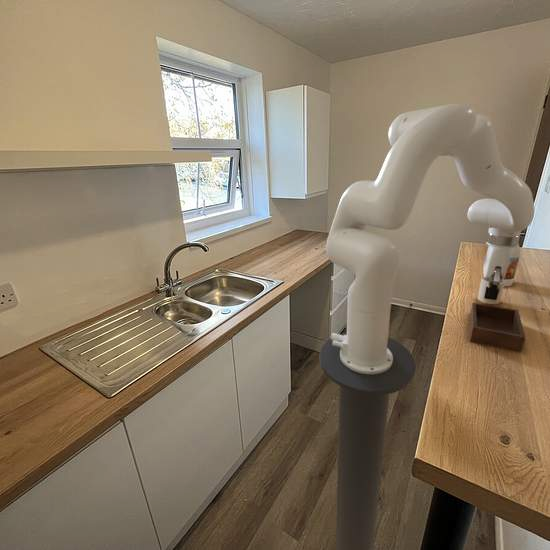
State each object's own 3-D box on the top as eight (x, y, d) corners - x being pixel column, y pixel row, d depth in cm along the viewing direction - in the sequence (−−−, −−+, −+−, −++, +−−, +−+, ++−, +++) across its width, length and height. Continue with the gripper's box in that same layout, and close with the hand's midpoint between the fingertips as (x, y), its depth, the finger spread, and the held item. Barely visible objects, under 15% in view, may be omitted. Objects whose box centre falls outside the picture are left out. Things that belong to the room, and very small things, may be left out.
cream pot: (477, 302, 95) (481, 281, 92) (477, 294, 99) (481, 274, 97) (500, 305, 92) (506, 284, 89) (499, 297, 96) (504, 277, 94)
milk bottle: (485, 284, 107) (497, 230, 99) (486, 276, 113) (498, 224, 105) (512, 288, 103) (527, 232, 95) (512, 280, 109) (526, 226, 101)
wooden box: (470, 341, 79) (473, 327, 77) (470, 315, 90) (472, 302, 88) (521, 352, 73) (525, 337, 72) (514, 322, 85) (517, 309, 83)
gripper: (485, 231, 96) (475, 281, 103) (488, 247, 83) (475, 304, 90) (515, 232, 93) (501, 285, 100) (522, 249, 79) (506, 309, 86)
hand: (489, 293), depth 95 cm, fingers closed on cream pot, 6 cm apart
